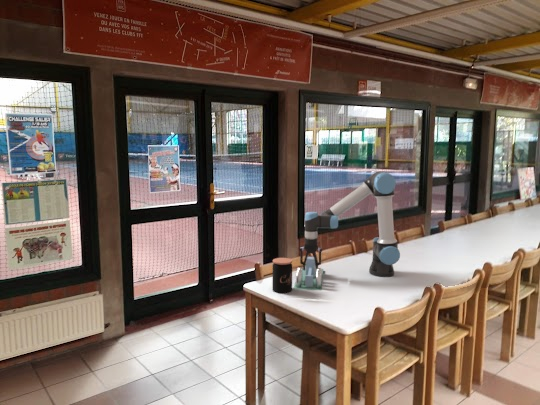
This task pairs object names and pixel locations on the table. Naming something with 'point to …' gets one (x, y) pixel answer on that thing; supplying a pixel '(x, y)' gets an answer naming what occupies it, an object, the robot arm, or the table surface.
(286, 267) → the coffee jar
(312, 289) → the green mat
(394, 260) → the robot arm
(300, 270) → the spacers
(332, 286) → the table surface
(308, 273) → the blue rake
